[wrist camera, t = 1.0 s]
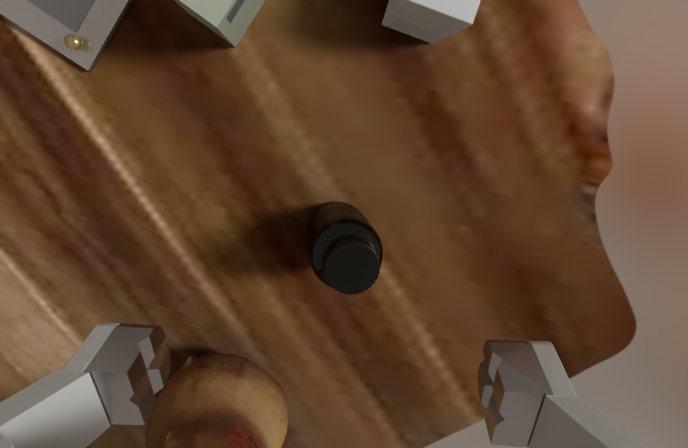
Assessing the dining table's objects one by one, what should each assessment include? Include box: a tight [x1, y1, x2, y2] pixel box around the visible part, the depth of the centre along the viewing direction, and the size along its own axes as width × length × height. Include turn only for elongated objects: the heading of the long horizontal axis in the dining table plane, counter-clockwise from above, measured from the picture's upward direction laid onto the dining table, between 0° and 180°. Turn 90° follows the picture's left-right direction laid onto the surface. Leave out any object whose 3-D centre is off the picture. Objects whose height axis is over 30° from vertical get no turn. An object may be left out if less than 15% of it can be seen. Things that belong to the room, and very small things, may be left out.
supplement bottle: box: [305, 202, 383, 295], centre depth 43 cm, size 7×7×12 cm
